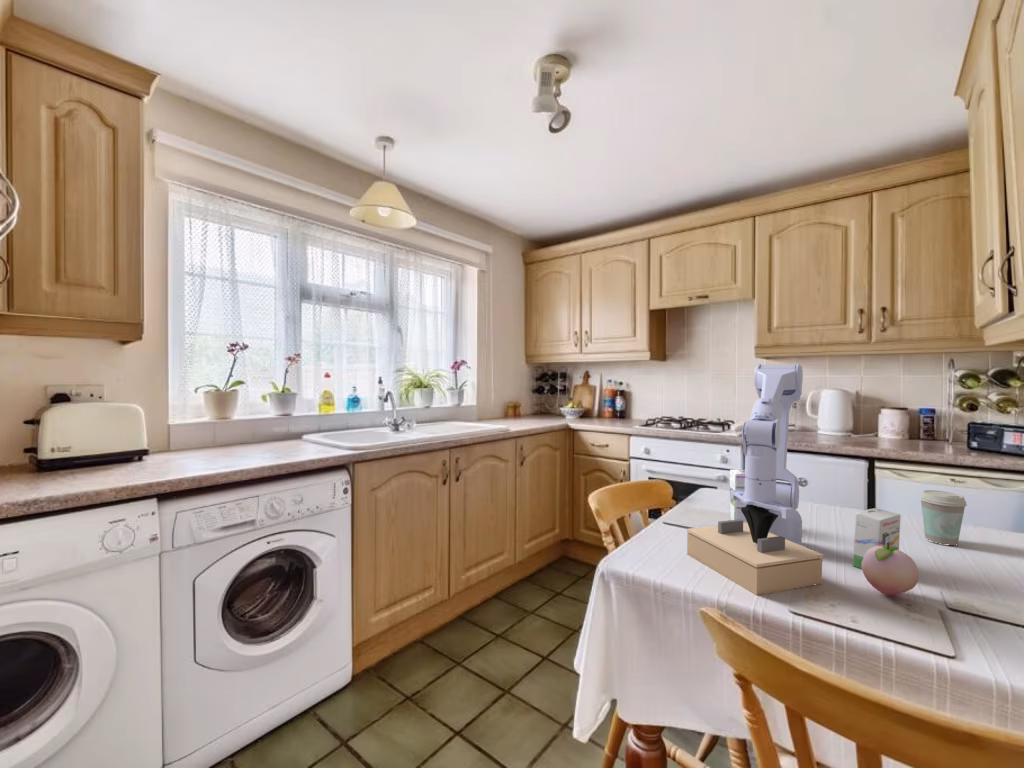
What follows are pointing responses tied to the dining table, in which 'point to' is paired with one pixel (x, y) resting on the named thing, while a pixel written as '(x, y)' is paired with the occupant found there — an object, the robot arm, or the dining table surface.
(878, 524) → the ink box
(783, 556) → the lid panel
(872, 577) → the decorative fruit
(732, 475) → the white printed box
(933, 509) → the coffee cup
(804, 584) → the carton
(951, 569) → the dining table surface
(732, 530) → the lid panel
